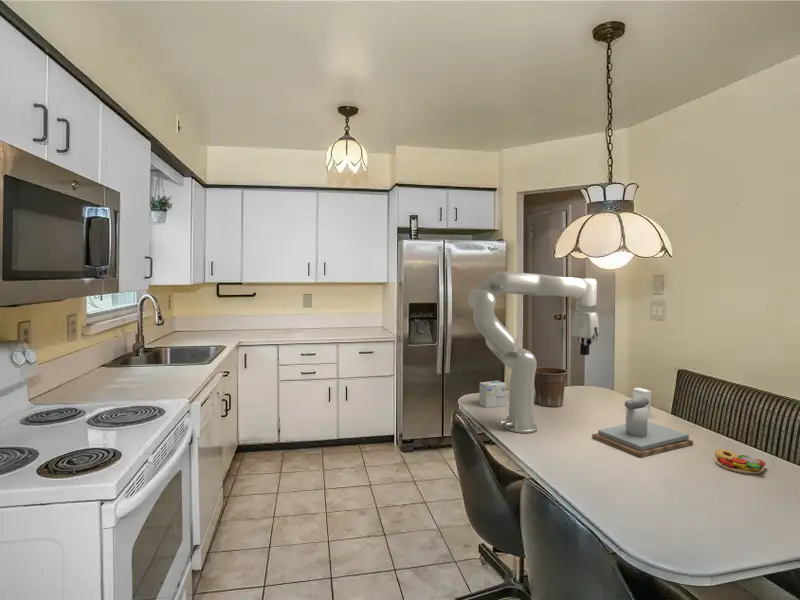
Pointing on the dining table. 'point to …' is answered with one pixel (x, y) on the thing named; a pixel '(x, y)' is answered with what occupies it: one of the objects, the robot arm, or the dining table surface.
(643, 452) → the walnut base
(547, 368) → the plant pot
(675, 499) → the dining table surface
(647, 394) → the skincare box
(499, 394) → the light bulb box
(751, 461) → the toy food set
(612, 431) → the tilting top
